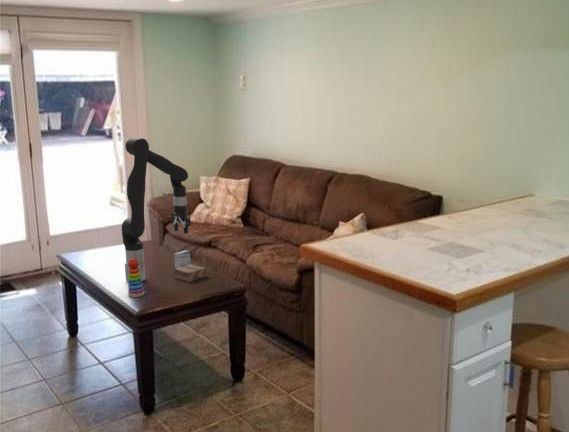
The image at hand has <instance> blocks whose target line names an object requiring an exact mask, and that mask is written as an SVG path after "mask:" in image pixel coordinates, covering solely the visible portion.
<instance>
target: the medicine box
mask: <svg viewBox="0 0 569 432" xmlns="http://www.w3.org/2000/svg"><path fill="white" fill-rule="evenodd" d="M173 255H174V256H173V257H174V267H175V269H176V268H179V267H182V266H186V265H189V264H191V258H190V257H191V256H190V251H189V250H185V249H184V250H181V251H178V252H175V253H174V254H173Z"/></svg>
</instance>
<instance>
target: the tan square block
mask: <svg viewBox="0 0 569 432" xmlns="http://www.w3.org/2000/svg"><path fill="white" fill-rule="evenodd" d="M173 273H174V275H173V276H174V278H176V279H179V280H182V281H185V282H192V281H196V280H198V279H199V280H200V279H202V278H204V277H207V268H206V267H205V266H201V265H197V264H193V263H190V264H189V265H186V266H182V267H179V268H176V267H175V268H173Z"/></svg>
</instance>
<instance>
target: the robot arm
mask: <svg viewBox="0 0 569 432" xmlns="http://www.w3.org/2000/svg"><path fill="white" fill-rule="evenodd" d="M125 150H126V152H127V153H128V154H129V155H131V156H133V167H132V169H131V171H130V174H129V176H128V179H127V182H126V196H127V200H128V203H129V206H130V210H131V211H130V212H131V215H130V216H131V217H128V218H125V219H124V220H123V221H122V224H121V236H122V242H123V246H124V251H125V263H124V272H125V281H126V282H129V279H128V278H129V273H130V272H129V269H130V267H129V266H128V261H129V260H130V259H133V258H134V259H137V260H138V262H139V265H138V268H139V272H140V276H141V280H142V282H143V281H145V280H146V271H145V270H146V269H145V256H144V244H143V241H142V240H140V237H142V236H143V235H144V233H145V229H146V228H145V227H146V226H145V225H146V222H145V200H146V199H145V198H146V197H145V196H146V180H147V179H146V178H147V177H146V176H147V165H148V164H150V165H152V166H153V167H155V168H156V169H158V170H159V171H161V172H163V173H164V174H166V175H169V179H170V182H171V187H172V193H173V194H172V195H173V196H172V197H173V198H172V205H173V206H172V207H173V212H171V214H170V219H171V220H170V221H171V222H170V223H171V224H173V228H174V229H173V230H174V232H178V231H179V223H181V224H182V226H183V235H186V234H189V227H190V226H191V224H192V223H191V216H190V215H187V212H188V203H187V202H188V200H187V188H186V186H185V185H184V184H183V182H185V181H188V180H187V179H188V178H189V173H188V171H187V170H186V169H185V168H183V167H181V166H179V165H177V164H175V163H173V162H172V161H171V160H170V159H168V158H166V157H164V156H162V155H160V154H158V153H157V152H154V151H151V150H150V146H149V142H148V140H147V139H145V138H141V137H130V138H128V139H127V140H126V142H125Z"/></svg>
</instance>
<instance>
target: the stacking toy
mask: <svg viewBox="0 0 569 432" xmlns="http://www.w3.org/2000/svg"><path fill="white" fill-rule="evenodd" d="M138 265H139V262H138V260H137V259H134V258H133V259H130V260H129V261H128V266H129V267H130V269H129V272H130V273H129V278H128V279H129V281H128V288H127V289H128V290H127V292H128V293H127V295H128V297H131V298H139V297H142V296H144V295H145V288H144V286H143V285H144V284H143V281H142V280H141V276H140V272H139V268H138Z"/></svg>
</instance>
